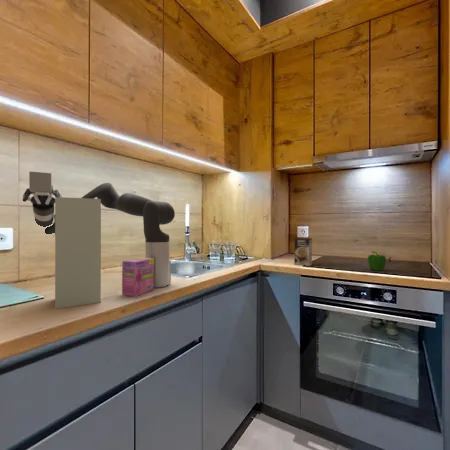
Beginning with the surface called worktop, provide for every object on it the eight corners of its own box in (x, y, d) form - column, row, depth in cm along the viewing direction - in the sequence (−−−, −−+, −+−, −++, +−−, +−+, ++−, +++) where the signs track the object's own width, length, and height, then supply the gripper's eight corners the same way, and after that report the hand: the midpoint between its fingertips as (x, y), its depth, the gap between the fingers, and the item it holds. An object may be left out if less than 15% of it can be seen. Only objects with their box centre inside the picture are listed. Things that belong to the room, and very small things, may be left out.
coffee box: (293, 264, 166) (294, 237, 166) (297, 263, 172) (297, 237, 172) (309, 266, 161) (309, 238, 161) (312, 264, 167) (312, 238, 167)
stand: (55, 298, 90) (55, 200, 90) (95, 294, 96) (95, 201, 96) (55, 308, 80) (55, 196, 79) (100, 302, 86) (100, 199, 86)
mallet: (33, 194, 108) (33, 179, 108) (51, 195, 111) (51, 180, 111) (29, 190, 90) (29, 171, 90) (51, 191, 93) (51, 173, 93)
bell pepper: (389, 271, 144) (390, 251, 144) (377, 271, 142) (377, 252, 142) (376, 268, 152) (376, 250, 152) (364, 269, 150) (364, 250, 150)
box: (135, 296, 93) (135, 261, 93) (121, 295, 95) (121, 260, 95) (154, 290, 102) (154, 258, 102) (141, 288, 104) (141, 257, 104)
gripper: (63, 216, 119) (64, 194, 107) (22, 216, 112) (18, 192, 99) (63, 202, 122) (64, 178, 110) (23, 200, 115) (19, 175, 102)
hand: (42, 185), depth 104 cm, fingers closed on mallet, 4 cm apart
